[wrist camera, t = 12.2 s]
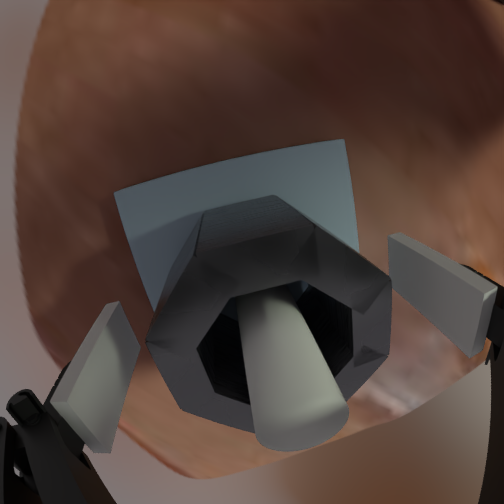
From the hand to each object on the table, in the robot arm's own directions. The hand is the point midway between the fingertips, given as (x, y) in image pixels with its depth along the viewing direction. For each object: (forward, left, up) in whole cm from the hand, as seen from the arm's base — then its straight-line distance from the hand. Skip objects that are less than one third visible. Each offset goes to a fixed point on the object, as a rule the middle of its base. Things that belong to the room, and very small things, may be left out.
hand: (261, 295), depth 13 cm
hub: (0, 0, -2) cm, 2 cm away
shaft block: (0, 0, -4) cm, 4 cm away
